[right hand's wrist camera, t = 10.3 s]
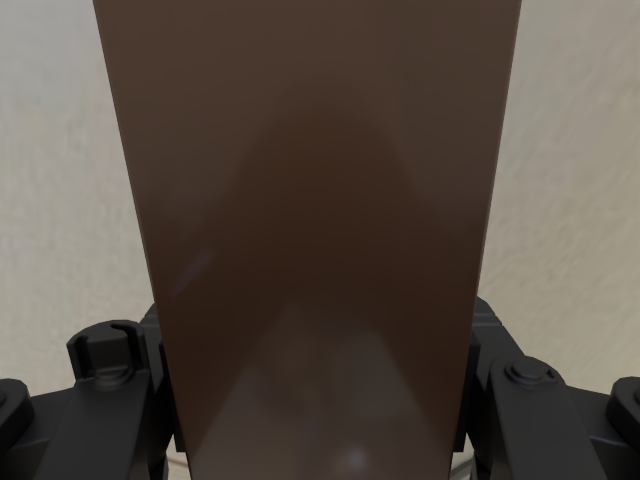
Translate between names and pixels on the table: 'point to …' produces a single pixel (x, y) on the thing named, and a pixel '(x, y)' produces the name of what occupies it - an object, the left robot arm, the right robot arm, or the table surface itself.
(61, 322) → the table surface
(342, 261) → the beam
